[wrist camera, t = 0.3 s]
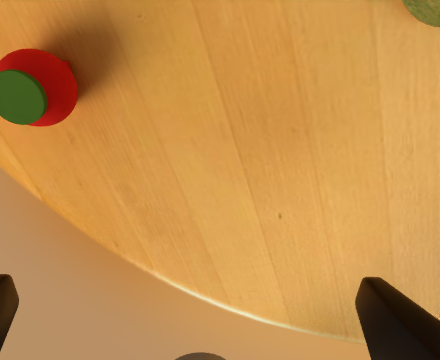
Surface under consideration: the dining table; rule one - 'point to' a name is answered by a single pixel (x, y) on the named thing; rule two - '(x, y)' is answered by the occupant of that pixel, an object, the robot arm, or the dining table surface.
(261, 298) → the dining table surface
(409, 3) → the beverage can
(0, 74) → the strawberry
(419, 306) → the robot arm
